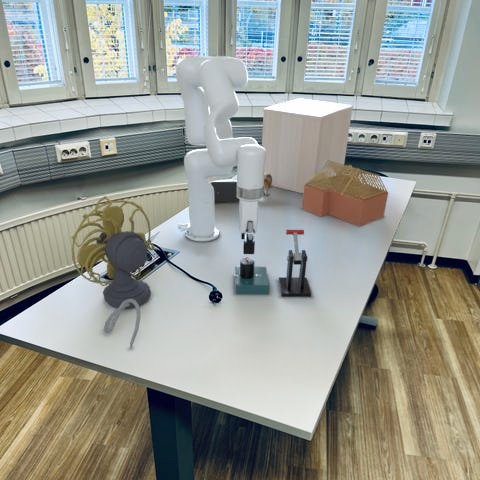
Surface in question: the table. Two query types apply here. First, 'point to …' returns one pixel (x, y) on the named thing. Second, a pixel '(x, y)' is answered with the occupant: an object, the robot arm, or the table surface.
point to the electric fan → (116, 259)
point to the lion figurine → (267, 182)
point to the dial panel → (252, 282)
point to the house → (345, 195)
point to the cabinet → (303, 140)
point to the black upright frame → (295, 279)
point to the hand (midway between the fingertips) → (247, 246)
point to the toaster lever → (296, 245)
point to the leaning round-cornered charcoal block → (225, 191)
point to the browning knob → (246, 268)
